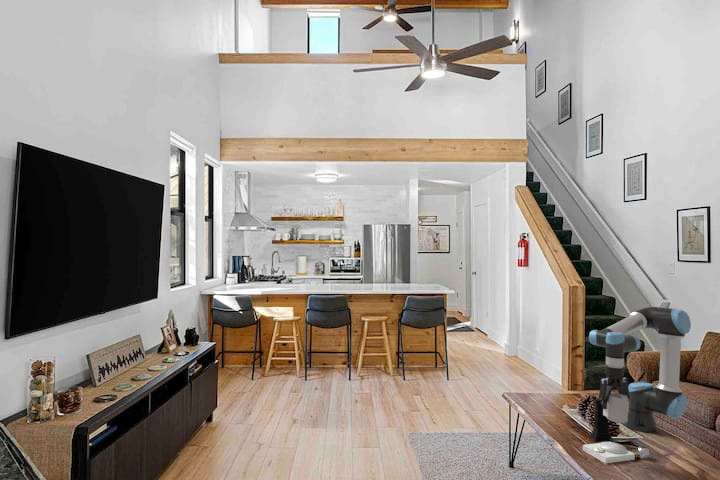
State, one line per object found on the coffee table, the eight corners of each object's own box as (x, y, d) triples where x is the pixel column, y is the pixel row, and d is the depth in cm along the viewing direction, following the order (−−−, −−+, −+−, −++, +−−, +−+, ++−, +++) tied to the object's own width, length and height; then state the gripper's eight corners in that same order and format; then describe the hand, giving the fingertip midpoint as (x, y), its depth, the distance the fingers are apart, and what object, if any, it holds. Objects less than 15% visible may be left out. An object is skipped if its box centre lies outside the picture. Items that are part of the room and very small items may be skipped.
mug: (631, 421, 216) (632, 397, 216) (619, 423, 213) (619, 399, 213) (608, 412, 227) (608, 389, 227) (595, 415, 224) (596, 391, 224)
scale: (610, 446, 228) (610, 439, 228) (634, 459, 214) (634, 451, 214) (582, 450, 224) (582, 442, 224) (605, 463, 210) (605, 455, 210)
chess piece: (612, 442, 233) (612, 401, 233) (594, 441, 234) (595, 400, 235) (607, 436, 240) (607, 396, 241) (590, 435, 242) (590, 395, 242)
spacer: (643, 454, 220) (643, 446, 220) (651, 458, 216) (651, 450, 216) (635, 455, 219) (635, 447, 219) (643, 459, 214) (643, 451, 214)
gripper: (626, 363, 227) (625, 411, 227) (589, 365, 221) (589, 414, 221) (639, 367, 220) (638, 416, 219) (602, 369, 214) (601, 419, 214)
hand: (613, 415), depth 220 cm, fingers closed on mug, 8 cm apart
